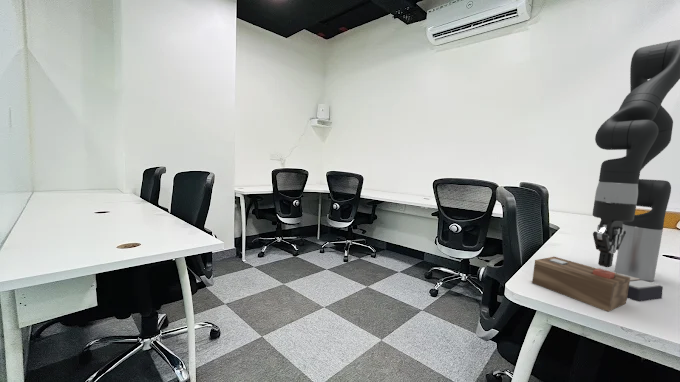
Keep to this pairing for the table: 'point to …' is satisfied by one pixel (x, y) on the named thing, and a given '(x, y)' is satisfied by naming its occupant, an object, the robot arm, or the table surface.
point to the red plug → (603, 273)
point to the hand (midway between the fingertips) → (604, 266)
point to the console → (581, 283)
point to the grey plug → (558, 261)
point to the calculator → (642, 289)
